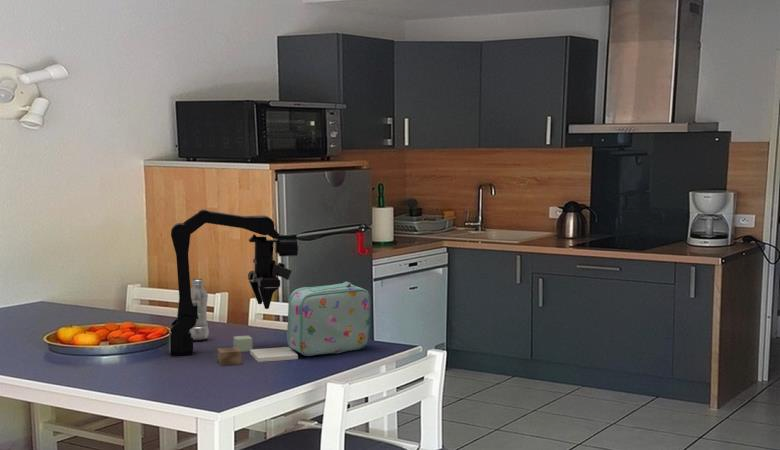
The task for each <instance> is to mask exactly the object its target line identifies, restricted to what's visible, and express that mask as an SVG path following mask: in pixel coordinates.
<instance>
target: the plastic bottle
mask: <svg viewBox="0 0 780 450" xmlns="http://www.w3.org/2000/svg"><path fill="white" fill-rule="evenodd" d="M204 285H205V283H204V279H203V278H192V279H191V282H190V286H191V287H190V288H191V298H192V302H193V303H197V305H198V308H197V313H198V317H199V319H197V318H196V325H195V326H194V327H193V328H192V329H190V331H189V332H191V336H192V337H193V341H203V340H206V339H208V337H209V334H210V333H209V325H208V318H207V311H208V310H207V308H208V298H209V296H208V292H207V291H206V289H205V287H204Z"/></svg>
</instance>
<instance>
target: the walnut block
mask: <svg viewBox="0 0 780 450" xmlns="http://www.w3.org/2000/svg"><path fill="white" fill-rule="evenodd" d="M242 353H243V352H242V351H241V350H240V349H239V348H238V347H233V346H232V347H222V348H221V347H220V348H217V362H218V364H219V365H220V366H221V367H224V366H234V365H242V361H243V360H242V359H243V358H242V357H243V356H242Z"/></svg>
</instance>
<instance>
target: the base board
mask: <svg viewBox="0 0 780 450" xmlns="http://www.w3.org/2000/svg"><path fill="white" fill-rule="evenodd" d="M249 354H250V355H251V356H252V357H253V358H254V359H255V361H256V362H257V363H264V362H274V361H275V362H277V361H287V360H288V361H289V360H298V359H299V355H298V354H297V353H296V351H294V350H292V349H291V348H290V347H289V346H283V347H282V346H281V347H280V346H279V347H270V348H269V347H268V348H255V349H254V348H253V349H251V350H250V351H249Z"/></svg>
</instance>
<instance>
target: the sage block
mask: <svg viewBox="0 0 780 450" xmlns="http://www.w3.org/2000/svg"><path fill="white" fill-rule="evenodd" d="M232 339H233V346H232V347H238V348H239V349H240V350H241V351H242V353H243V352H250V350H251V349H254V348H253V338H252V336H251V335H236V336H233V338H232Z"/></svg>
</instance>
